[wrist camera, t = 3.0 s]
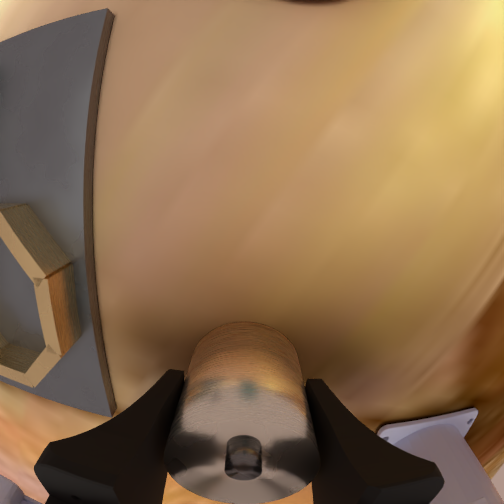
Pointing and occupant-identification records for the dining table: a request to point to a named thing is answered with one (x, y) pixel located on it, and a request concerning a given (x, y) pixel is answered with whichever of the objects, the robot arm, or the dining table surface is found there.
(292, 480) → the spout can
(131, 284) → the dining table surface
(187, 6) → the dining table surface
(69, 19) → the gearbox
